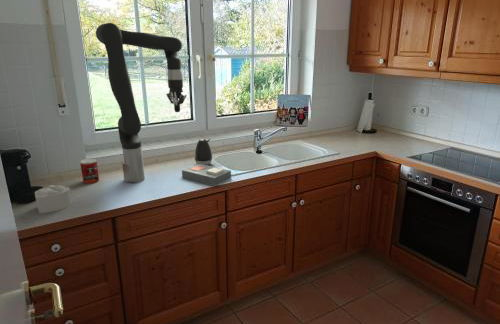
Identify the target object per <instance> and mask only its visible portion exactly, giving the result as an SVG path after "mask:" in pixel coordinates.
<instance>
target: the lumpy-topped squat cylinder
mask: <svg viewBox="0 0 500 324" xmlns="http://www.w3.org/2000/svg"><path fill="white" fill-rule="evenodd" d="M70 190H71V189H70V187H68V186H64V185H53V184H52V185H51V184H50V185H48V186H46V187H45V188H44V187H43V188H40V189H38V190H36V191H34V197H35V202H36V207H37V210H38V213H39V214H47V213H48V214H49V213H51V212H52V213H53V212H57V211H61V210H64V209H66V208H68V207H70V206H71V205H72V203H73V201H72V195H71V191H70Z"/></svg>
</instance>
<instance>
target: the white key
mask: <svg viewBox="0 0 500 324" xmlns="http://www.w3.org/2000/svg"><path fill="white" fill-rule="evenodd" d="M213 167H214V168H212V169H209V170H207V174H211V175H215V176H216V175H219V174H221V173H223V172H224V171H223V169H224V168H221V169H219V168H220V167H216V166H213ZM215 167H216V168H215Z"/></svg>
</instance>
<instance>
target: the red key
mask: <svg viewBox="0 0 500 324" xmlns="http://www.w3.org/2000/svg"><path fill="white" fill-rule="evenodd" d="M203 169H205V167H200V166H195V167H193V168H190V170H194V171H200V170H203Z"/></svg>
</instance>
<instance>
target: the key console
mask: <svg viewBox="0 0 500 324" xmlns="http://www.w3.org/2000/svg"><path fill="white" fill-rule="evenodd" d="M195 166H200V167H205V169H203V170H200V171H194V170H190V168H193V167H195ZM214 167H215V168H217V166H211V165H203V164H197V163H196V164H194V165H192V166H189V167H187V168H186V167H185V168H183V169H181V177H182V178H183V179H186V180H187V179H188V180H192V181H196V182H199V183H204V184H205V185H210V186H218V185H219V184H222V183H224V182H226V181H228V180H230V179H232V170H229V169H225V168H220V167H218V168H219V169H223V171H224V172H223V173H221V174H219V175H216V176H215V175H211V174H207V170H209V169H212V168H214Z"/></svg>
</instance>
